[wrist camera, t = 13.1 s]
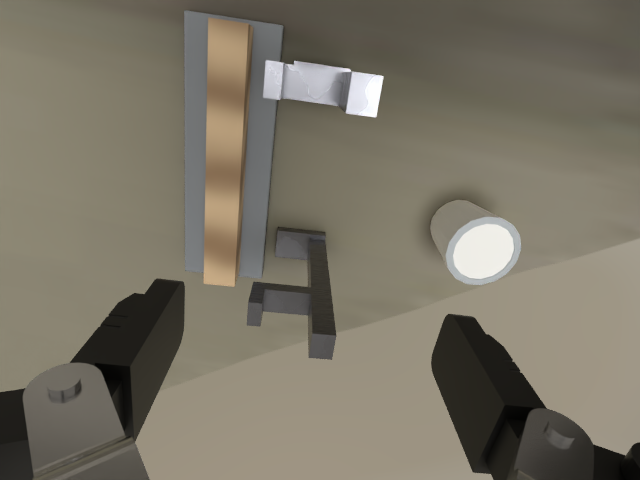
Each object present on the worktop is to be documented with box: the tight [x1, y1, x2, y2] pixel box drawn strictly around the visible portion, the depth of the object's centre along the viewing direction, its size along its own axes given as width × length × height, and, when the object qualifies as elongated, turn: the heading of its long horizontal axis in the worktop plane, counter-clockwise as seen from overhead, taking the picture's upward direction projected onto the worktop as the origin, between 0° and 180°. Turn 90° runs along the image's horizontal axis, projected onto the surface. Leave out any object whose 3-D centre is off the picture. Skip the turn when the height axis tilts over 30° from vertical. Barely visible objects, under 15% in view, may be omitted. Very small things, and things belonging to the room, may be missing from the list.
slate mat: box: [184, 10, 284, 278], centre depth 37 cm, size 24×8×2 cm, turn 172°
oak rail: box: [204, 17, 253, 287], centre depth 35 cm, size 23×3×3 cm, turn 172°
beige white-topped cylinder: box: [430, 200, 521, 285], centre depth 38 cm, size 7×7×7 cm
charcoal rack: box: [247, 60, 384, 360], centre depth 30 cm, size 19×6×17 cm, turn 172°
